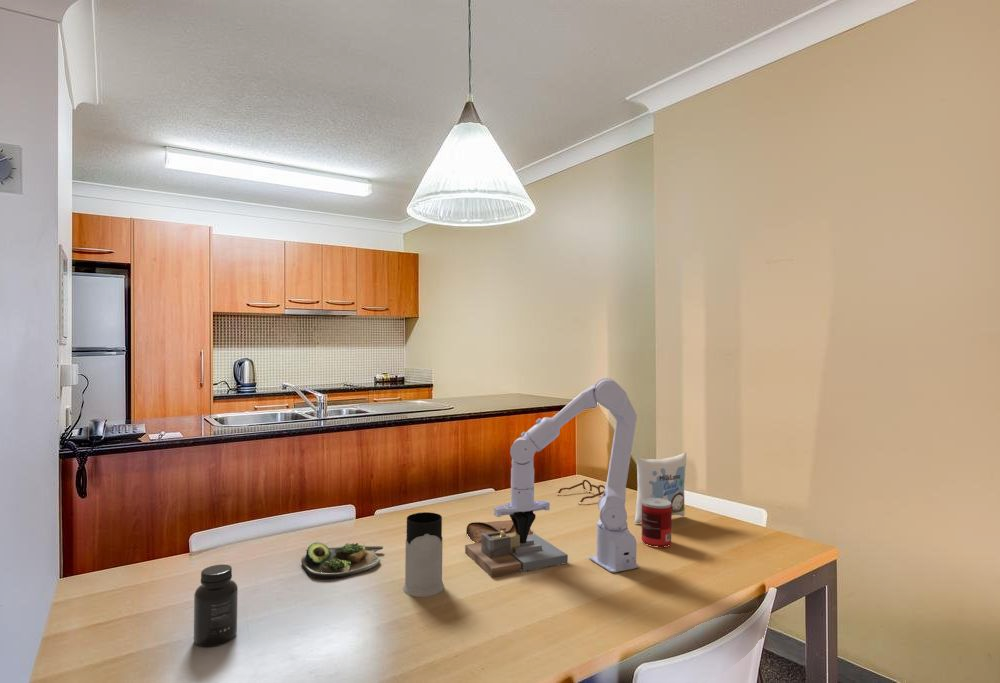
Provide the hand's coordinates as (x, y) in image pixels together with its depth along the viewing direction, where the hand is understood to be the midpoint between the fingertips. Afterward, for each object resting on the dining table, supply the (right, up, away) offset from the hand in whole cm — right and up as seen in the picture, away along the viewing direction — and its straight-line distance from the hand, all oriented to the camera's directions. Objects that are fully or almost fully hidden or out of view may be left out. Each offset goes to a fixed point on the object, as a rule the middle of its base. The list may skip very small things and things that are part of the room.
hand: (521, 542), depth 136 cm
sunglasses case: (-5, -4, +14) cm, 16 cm away
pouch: (+43, -5, +29) cm, 52 cm away
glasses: (+23, -5, +54) cm, 58 cm away
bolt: (-4, -1, -2) cm, 5 cm away
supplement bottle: (-56, -3, -39) cm, 68 cm away
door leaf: (+2, -4, +1) cm, 4 cm away
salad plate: (-44, -4, -5) cm, 44 cm away
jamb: (-7, -4, -3) cm, 9 cm away
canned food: (+36, -4, +11) cm, 38 cm away
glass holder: (-22, -4, -15) cm, 27 cm away
